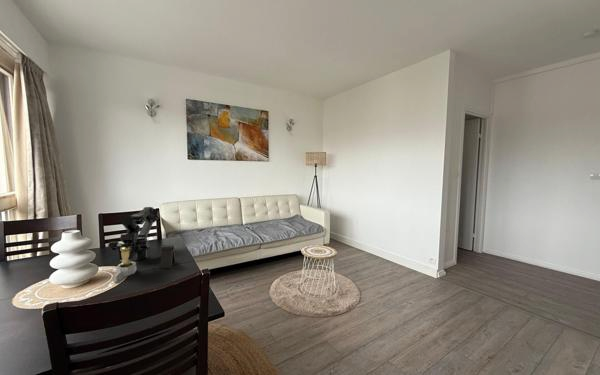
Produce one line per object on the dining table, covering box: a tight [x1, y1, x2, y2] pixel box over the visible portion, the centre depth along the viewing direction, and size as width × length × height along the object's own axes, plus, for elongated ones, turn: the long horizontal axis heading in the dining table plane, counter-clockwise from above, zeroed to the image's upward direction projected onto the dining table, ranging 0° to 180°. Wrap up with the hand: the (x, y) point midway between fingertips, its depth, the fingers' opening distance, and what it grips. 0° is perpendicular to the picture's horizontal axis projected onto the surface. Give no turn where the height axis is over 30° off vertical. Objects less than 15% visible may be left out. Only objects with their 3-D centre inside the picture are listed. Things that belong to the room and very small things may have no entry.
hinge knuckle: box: [113, 261, 137, 283], centre depth 137 cm, size 20×8×4 cm, turn 21°
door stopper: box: [159, 244, 177, 269], centre depth 148 cm, size 9×6×12 cm, turn 8°
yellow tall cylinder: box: [120, 246, 132, 267], centre depth 137 cm, size 5×5×13 cm
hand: (125, 259), depth 135 cm, fingers closed on yellow tall cylinder, 4 cm apart
